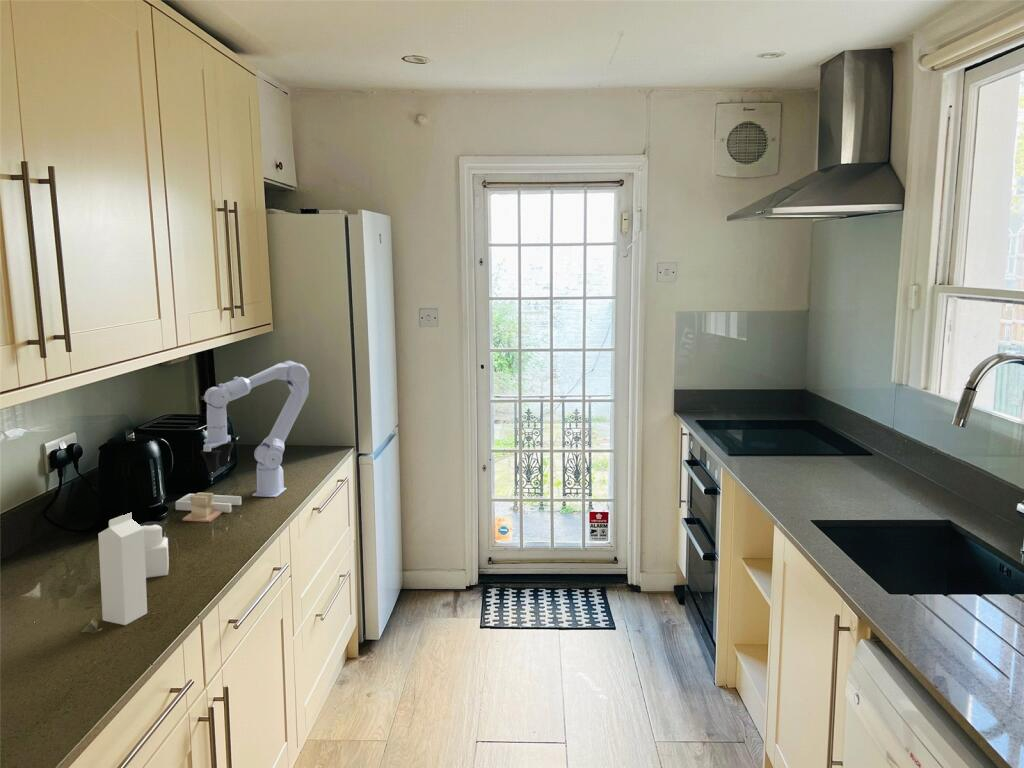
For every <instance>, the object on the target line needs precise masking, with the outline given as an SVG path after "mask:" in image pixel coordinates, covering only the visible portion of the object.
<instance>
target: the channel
mask: <svg viewBox="0 0 1024 768" xmlns="http://www.w3.org/2000/svg"><path fill="white" fill-rule="evenodd" d="M195 494H196V493H188V494H186V495H184V496H182V497H181V498H179V499H178V500H176V501H175V510H176V511H189V512H190V511H191V497H192V496H193V495H195ZM242 504H243V503H242V496H240V495H220V494H213V505H214V511H222V513H231V512H232V506H241V505H242Z"/></svg>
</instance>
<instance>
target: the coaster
mask: <svg viewBox="0 0 1024 768" xmlns="http://www.w3.org/2000/svg"><path fill="white" fill-rule="evenodd" d="M221 514H223V512H222V511H214V513H213V514H211V515H210V516H208V517H207V518H204V517H192V513H188V514H187V515H186V516H184V517H183V518H182V521H186V522H187V521H188V522H204V523H210V522H211V521H213V520H215V519H216V518H217V517H219V516H220V515H221Z"/></svg>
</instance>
